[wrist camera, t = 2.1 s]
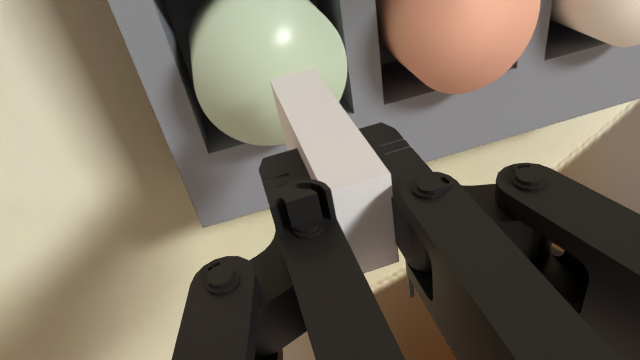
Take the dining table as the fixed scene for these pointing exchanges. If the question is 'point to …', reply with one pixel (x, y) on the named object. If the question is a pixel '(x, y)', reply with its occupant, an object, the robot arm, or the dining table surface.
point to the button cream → (601, 19)
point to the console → (368, 95)
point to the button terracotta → (456, 38)
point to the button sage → (258, 60)
